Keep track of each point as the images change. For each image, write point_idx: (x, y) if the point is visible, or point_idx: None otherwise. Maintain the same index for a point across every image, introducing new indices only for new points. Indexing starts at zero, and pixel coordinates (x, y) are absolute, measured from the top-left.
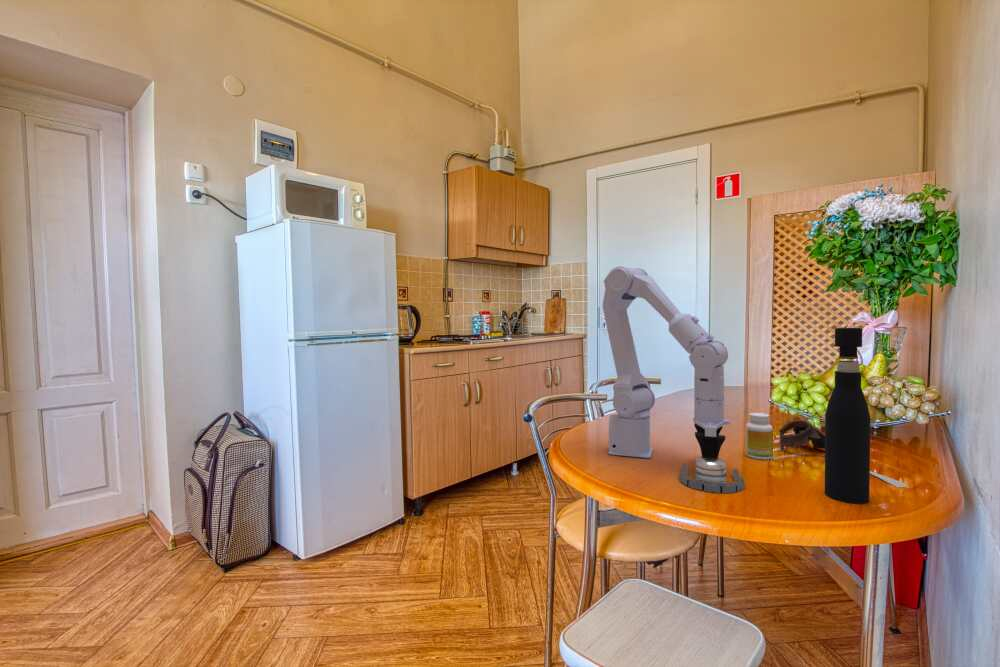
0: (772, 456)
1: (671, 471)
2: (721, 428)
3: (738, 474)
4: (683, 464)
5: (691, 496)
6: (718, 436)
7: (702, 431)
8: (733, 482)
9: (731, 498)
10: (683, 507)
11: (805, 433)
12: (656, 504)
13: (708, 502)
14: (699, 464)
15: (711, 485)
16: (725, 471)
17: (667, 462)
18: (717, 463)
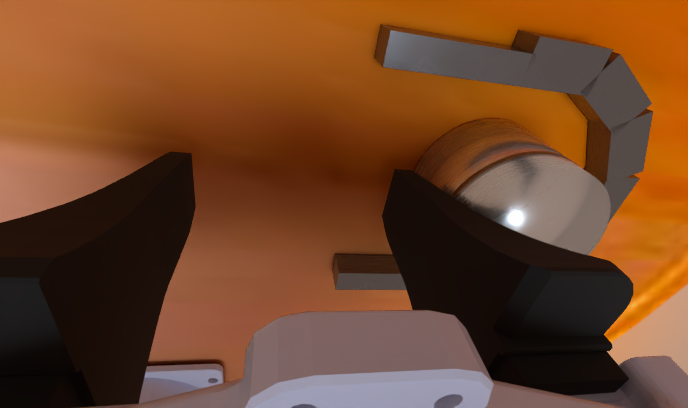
0: None
1: (364, 299)
2: (62, 261)
3: (497, 54)
4: (346, 285)
5: (611, 250)
6: (570, 320)
7: (135, 362)
8: (609, 113)
9: (672, 132)
10: (676, 269)
11: None
12: (634, 318)
13: (672, 210)
14: None
15: (614, 207)
16: (560, 153)
17: (245, 313)
18: (583, 217)
